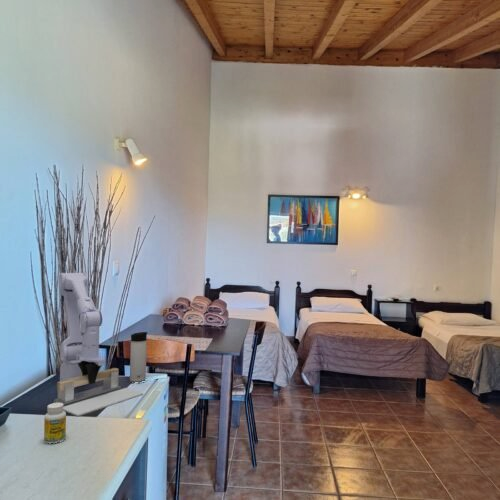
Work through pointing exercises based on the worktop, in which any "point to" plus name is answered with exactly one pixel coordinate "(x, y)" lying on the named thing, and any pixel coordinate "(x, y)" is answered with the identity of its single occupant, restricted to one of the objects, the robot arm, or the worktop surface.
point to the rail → (86, 379)
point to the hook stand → (87, 391)
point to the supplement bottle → (55, 423)
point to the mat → (101, 401)
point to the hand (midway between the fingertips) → (89, 382)
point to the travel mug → (138, 357)
